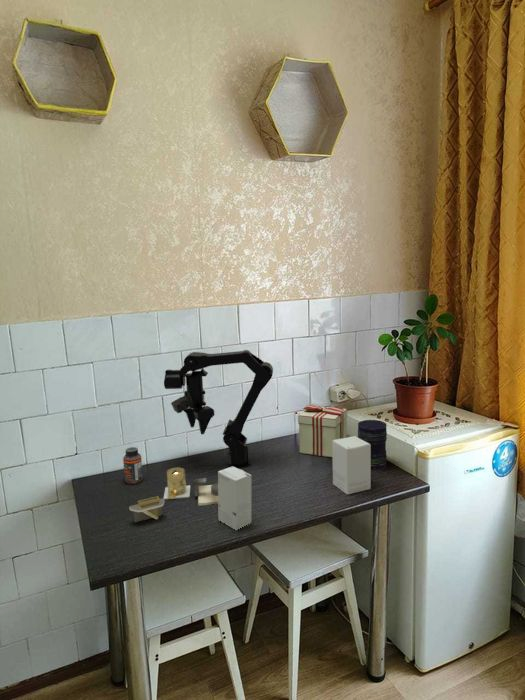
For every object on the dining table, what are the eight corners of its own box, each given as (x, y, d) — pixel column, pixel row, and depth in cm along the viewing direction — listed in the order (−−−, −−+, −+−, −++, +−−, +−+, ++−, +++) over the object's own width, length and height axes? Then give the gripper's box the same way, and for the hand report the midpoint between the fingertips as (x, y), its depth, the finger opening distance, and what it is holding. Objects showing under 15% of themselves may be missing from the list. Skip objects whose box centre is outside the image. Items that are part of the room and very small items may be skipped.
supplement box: (371, 489, 156) (371, 444, 154) (347, 495, 153) (346, 449, 150) (355, 478, 164) (355, 435, 162) (332, 483, 161) (331, 439, 158)
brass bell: (175, 484, 164) (173, 463, 163) (191, 485, 163) (189, 464, 162) (162, 498, 155) (160, 476, 153) (179, 499, 153) (177, 477, 152)
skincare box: (218, 521, 140) (215, 471, 138) (234, 513, 144) (232, 464, 142) (237, 531, 134) (234, 480, 132) (253, 523, 138) (251, 473, 136)
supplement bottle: (121, 482, 168) (118, 450, 166) (133, 475, 173) (130, 444, 171) (134, 485, 165) (132, 453, 163) (146, 478, 170) (144, 447, 168)
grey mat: (190, 486, 163) (190, 485, 163) (189, 497, 155) (189, 496, 155) (165, 488, 162) (165, 487, 162) (163, 499, 154) (163, 498, 154)
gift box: (349, 442, 198) (349, 400, 195) (339, 459, 181) (339, 413, 178) (308, 438, 204) (307, 397, 201) (294, 454, 187) (293, 410, 184)
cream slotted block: (238, 484, 163) (238, 469, 162) (241, 502, 151) (240, 485, 150) (195, 488, 161) (194, 472, 160) (194, 506, 149) (193, 489, 148)
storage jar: (364, 457, 181) (364, 418, 179) (390, 463, 176) (391, 422, 173) (353, 467, 174) (352, 426, 171) (379, 473, 168) (380, 430, 165)
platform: (186, 522, 141) (184, 500, 140) (121, 539, 133) (119, 517, 132) (173, 505, 151) (172, 484, 150) (113, 520, 144) (111, 499, 142)
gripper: (164, 386, 180) (166, 428, 182) (183, 397, 164) (186, 442, 167) (192, 382, 185) (195, 422, 188) (213, 392, 169) (216, 436, 172)
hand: (197, 430), depth 178 cm, fingers open, 9 cm apart
